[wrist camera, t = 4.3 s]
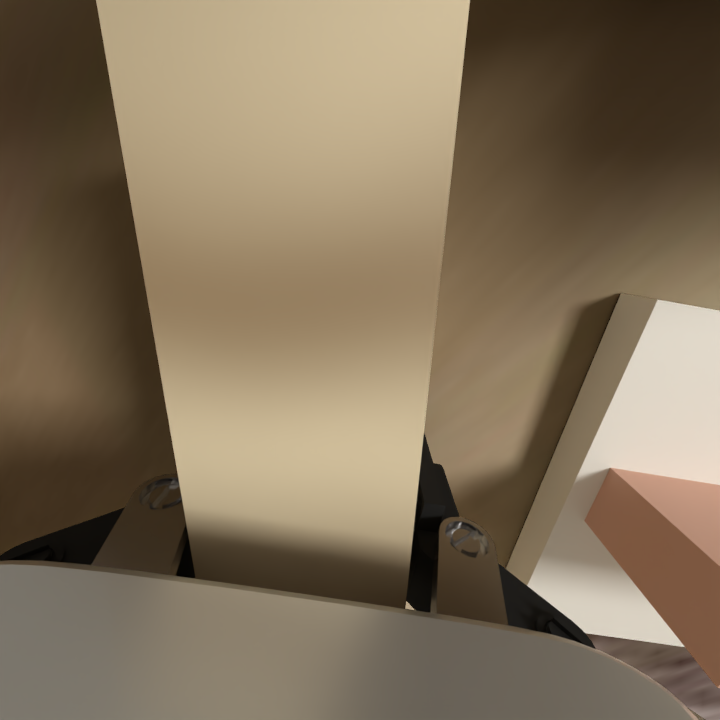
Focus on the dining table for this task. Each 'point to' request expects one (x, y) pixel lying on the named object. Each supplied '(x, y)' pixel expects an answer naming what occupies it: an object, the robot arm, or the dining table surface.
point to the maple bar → (292, 268)
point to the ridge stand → (637, 487)
